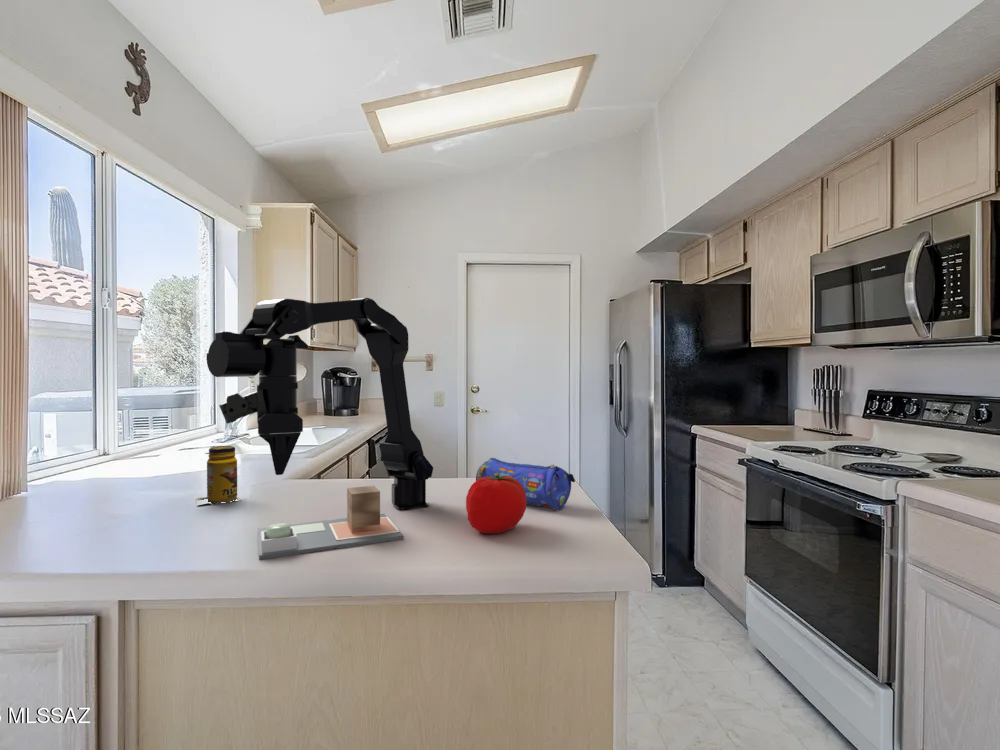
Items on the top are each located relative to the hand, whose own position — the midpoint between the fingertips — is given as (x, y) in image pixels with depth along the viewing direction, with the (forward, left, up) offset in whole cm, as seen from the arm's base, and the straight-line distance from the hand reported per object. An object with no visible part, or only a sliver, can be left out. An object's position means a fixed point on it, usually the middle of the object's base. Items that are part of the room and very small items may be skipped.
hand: (278, 470), depth 87 cm
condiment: (+11, -40, -13) cm, 43 cm away
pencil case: (-51, -10, -14) cm, 53 cm away
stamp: (-14, -4, -12) cm, 19 cm away
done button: (0, 0, -11) cm, 11 cm away
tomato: (-37, +5, -13) cm, 40 cm away
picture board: (-9, -4, -13) cm, 16 cm away
